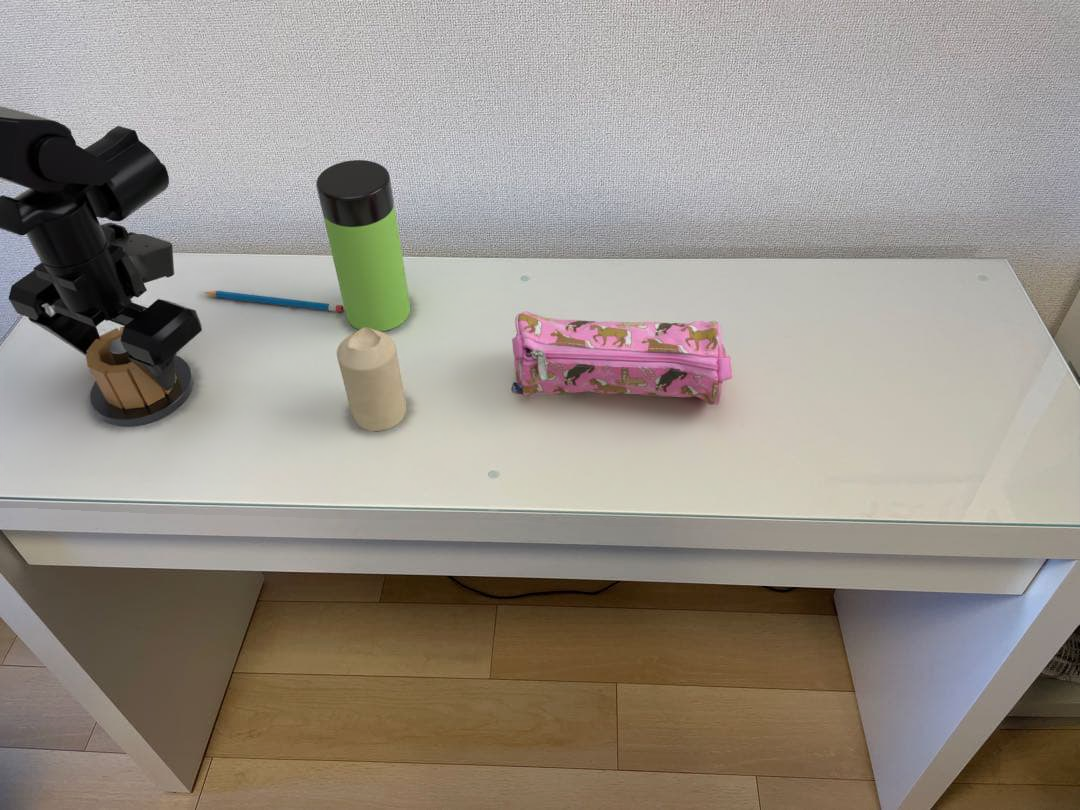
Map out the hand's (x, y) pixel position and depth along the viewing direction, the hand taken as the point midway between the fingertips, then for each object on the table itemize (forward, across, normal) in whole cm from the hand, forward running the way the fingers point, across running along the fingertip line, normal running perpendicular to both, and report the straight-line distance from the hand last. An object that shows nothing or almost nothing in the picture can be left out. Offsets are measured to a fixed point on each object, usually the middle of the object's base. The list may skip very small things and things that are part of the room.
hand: (135, 374), depth 87 cm
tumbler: (+3, -15, -21) cm, 26 cm away
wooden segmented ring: (+2, 0, 0) cm, 2 cm away
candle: (+3, -24, -8) cm, 25 cm away
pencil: (+3, -3, -17) cm, 18 cm away
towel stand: (+2, 0, 0) cm, 2 cm away
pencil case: (+3, -45, -21) cm, 49 cm away
